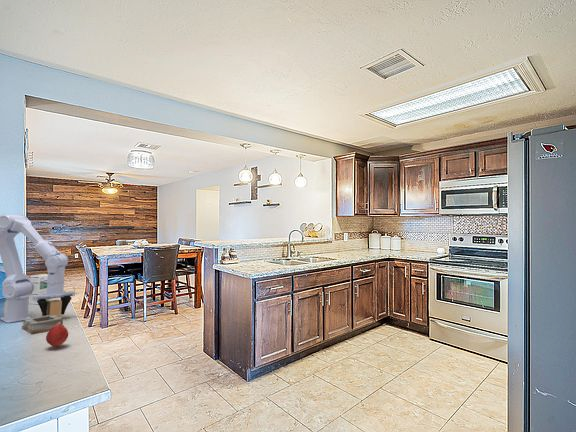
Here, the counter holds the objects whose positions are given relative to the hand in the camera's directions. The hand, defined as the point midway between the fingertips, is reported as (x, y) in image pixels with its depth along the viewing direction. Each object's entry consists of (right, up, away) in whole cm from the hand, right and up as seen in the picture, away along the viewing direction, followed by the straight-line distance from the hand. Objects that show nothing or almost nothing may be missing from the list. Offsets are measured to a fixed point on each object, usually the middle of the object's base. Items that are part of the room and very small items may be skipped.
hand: (53, 315), depth 133 cm
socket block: (+4, -1, -11) cm, 12 cm away
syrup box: (-29, -3, +29) cm, 41 cm away
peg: (0, -2, 0) cm, 2 cm away
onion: (+23, -1, -30) cm, 38 cm away
